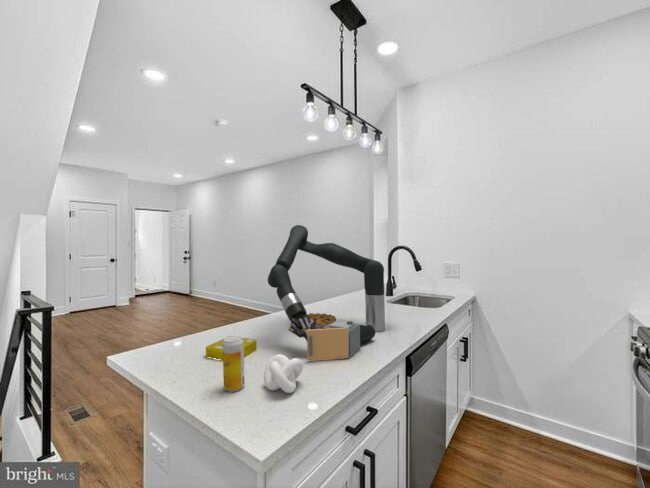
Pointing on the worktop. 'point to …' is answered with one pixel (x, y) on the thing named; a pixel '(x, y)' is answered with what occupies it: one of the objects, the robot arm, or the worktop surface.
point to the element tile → (217, 348)
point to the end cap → (366, 333)
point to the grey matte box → (353, 334)
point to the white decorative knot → (282, 373)
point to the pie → (322, 319)
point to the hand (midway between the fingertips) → (313, 344)
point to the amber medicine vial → (233, 363)
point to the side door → (328, 343)
